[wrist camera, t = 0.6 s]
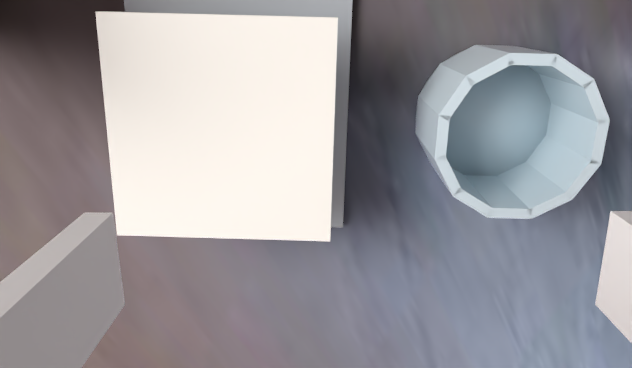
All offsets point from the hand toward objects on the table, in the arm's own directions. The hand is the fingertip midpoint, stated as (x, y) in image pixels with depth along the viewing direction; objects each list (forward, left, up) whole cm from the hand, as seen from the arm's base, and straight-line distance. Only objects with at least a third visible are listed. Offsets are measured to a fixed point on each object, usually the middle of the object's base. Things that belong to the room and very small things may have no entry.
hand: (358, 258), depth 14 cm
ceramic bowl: (0, +10, -22) cm, 24 cm away
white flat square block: (0, -6, -16) cm, 17 cm away
